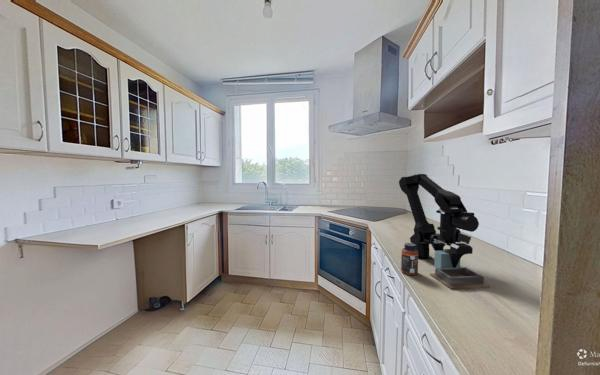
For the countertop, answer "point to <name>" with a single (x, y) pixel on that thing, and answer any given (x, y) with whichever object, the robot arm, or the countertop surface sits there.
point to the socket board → (459, 278)
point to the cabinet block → (443, 259)
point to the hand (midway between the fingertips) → (446, 263)
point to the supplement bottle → (409, 259)
